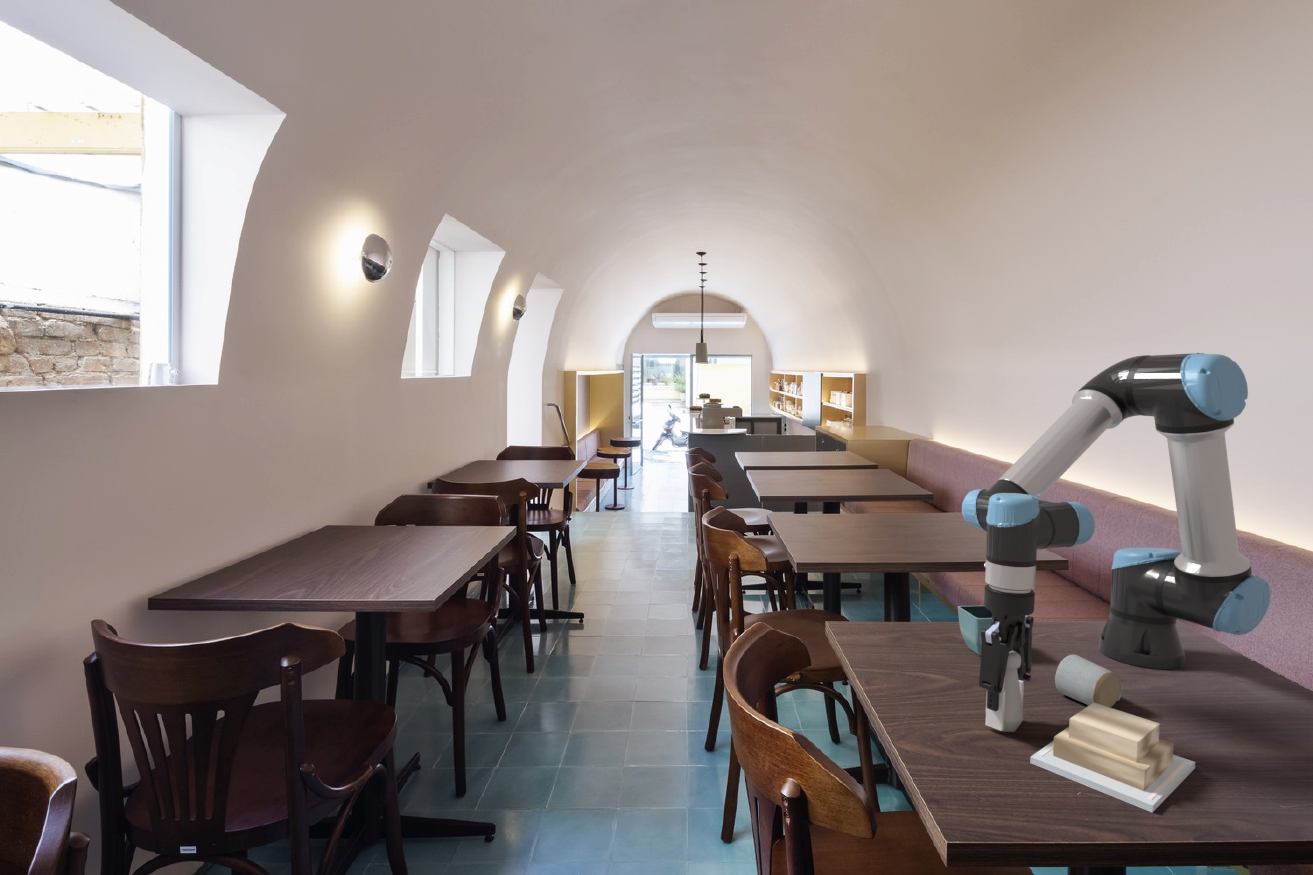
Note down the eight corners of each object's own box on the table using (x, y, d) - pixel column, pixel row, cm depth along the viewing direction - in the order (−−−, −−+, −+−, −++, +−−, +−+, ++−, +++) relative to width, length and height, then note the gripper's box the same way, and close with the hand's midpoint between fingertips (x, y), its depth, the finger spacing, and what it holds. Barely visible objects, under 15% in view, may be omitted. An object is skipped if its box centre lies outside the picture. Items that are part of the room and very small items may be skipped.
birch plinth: (1085, 732, 116) (1087, 696, 116) (1172, 762, 107) (1175, 724, 106) (1053, 755, 109) (1054, 717, 108) (1143, 791, 100) (1146, 749, 99)
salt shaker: (987, 731, 118) (990, 655, 117) (982, 716, 124) (985, 643, 123) (1026, 736, 117) (1029, 659, 116) (1019, 720, 122) (1022, 647, 121)
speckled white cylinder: (1096, 715, 124) (1098, 673, 124) (1052, 697, 132) (1055, 656, 131) (1134, 705, 129) (1136, 664, 128) (1090, 687, 136) (1092, 648, 136)
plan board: (1079, 727, 120) (1079, 721, 120) (1194, 768, 107) (1195, 761, 107) (1030, 762, 109) (1030, 756, 109) (1152, 812, 96) (1152, 804, 96)
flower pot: (955, 644, 158) (956, 605, 157) (993, 644, 158) (995, 604, 158) (975, 660, 149) (976, 618, 148) (1015, 659, 150) (1017, 617, 149)
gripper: (1013, 572, 127) (1008, 698, 129) (958, 591, 116) (953, 729, 117) (1058, 582, 121) (1052, 713, 123) (1004, 603, 110) (998, 747, 112)
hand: (1004, 721), depth 120 cm, fingers closed on salt shaker, 6 cm apart
